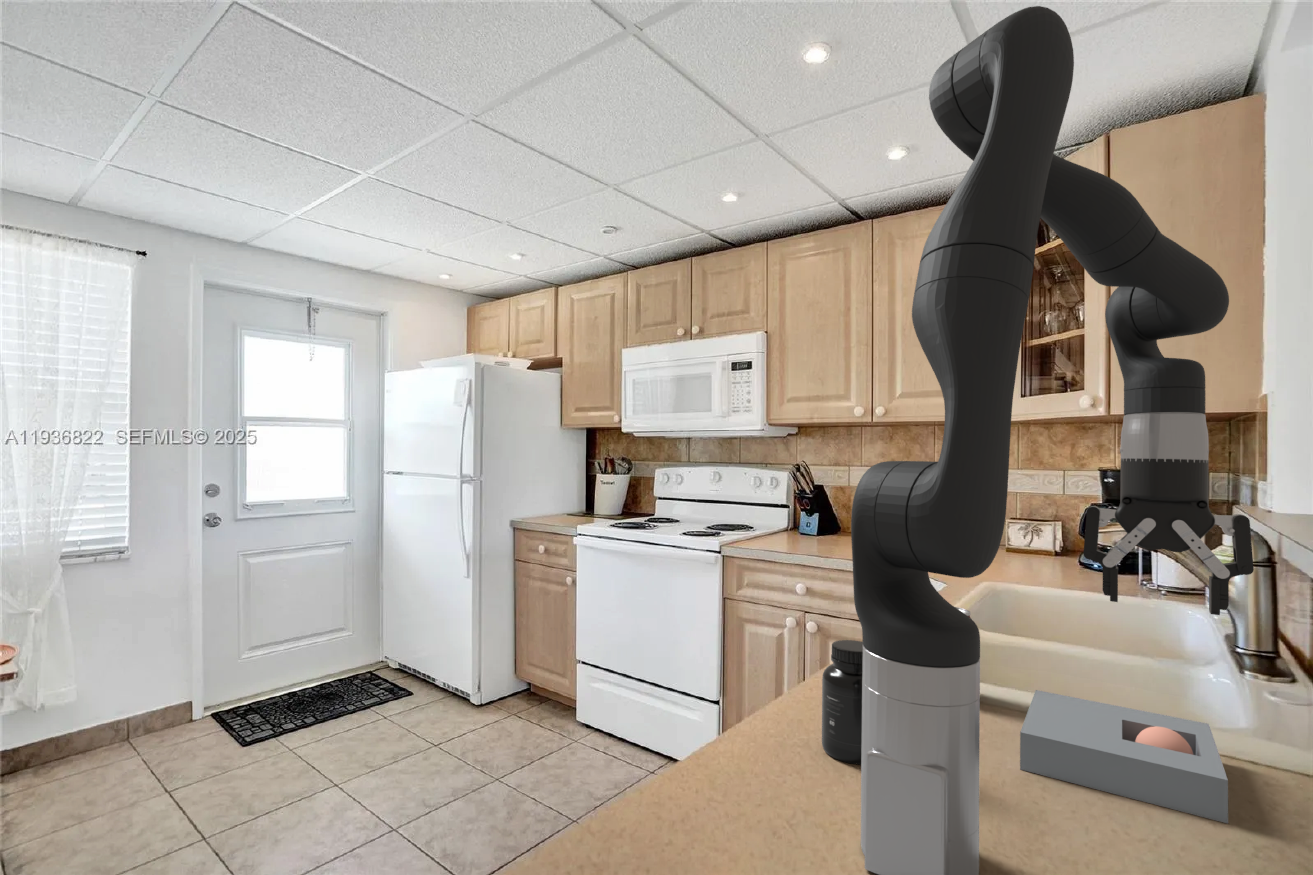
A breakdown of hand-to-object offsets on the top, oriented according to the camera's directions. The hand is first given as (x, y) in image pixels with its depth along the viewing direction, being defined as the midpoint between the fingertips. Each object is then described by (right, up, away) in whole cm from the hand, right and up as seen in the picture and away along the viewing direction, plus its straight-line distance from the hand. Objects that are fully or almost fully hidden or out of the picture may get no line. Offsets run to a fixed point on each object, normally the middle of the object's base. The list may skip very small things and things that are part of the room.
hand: (1162, 607), depth 70 cm
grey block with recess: (-4, -18, +2) cm, 18 cm away
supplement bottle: (-32, -18, +4) cm, 37 cm away
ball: (0, -16, 0) cm, 16 cm away
